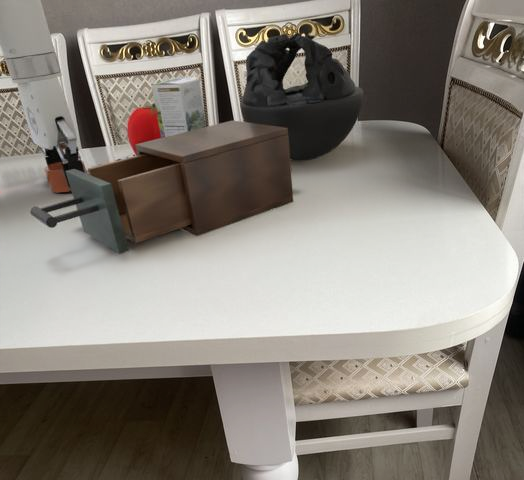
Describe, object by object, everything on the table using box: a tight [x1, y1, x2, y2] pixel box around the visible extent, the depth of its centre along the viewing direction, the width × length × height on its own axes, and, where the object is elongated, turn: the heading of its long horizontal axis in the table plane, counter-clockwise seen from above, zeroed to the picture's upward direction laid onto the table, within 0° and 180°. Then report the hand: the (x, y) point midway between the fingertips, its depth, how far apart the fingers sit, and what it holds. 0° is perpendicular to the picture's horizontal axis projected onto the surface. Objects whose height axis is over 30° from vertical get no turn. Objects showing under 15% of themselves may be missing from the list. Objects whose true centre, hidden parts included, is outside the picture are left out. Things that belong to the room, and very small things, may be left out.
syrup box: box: [151, 76, 207, 138], centre depth 88 cm, size 6×6×14 cm
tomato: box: [126, 103, 161, 156], centre depth 98 cm, size 12×12×10 cm
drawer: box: [29, 153, 192, 255], centre depth 64 cm, size 21×11×8 cm, turn 127°
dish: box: [43, 159, 88, 194], centre depth 90 cm, size 7×7×4 cm
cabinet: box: [135, 119, 294, 237], centre depth 70 cm, size 16×13×10 cm
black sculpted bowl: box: [239, 32, 364, 162], centre depth 86 cm, size 20×20×19 cm
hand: (69, 181), depth 91 cm, fingers open, 8 cm apart
